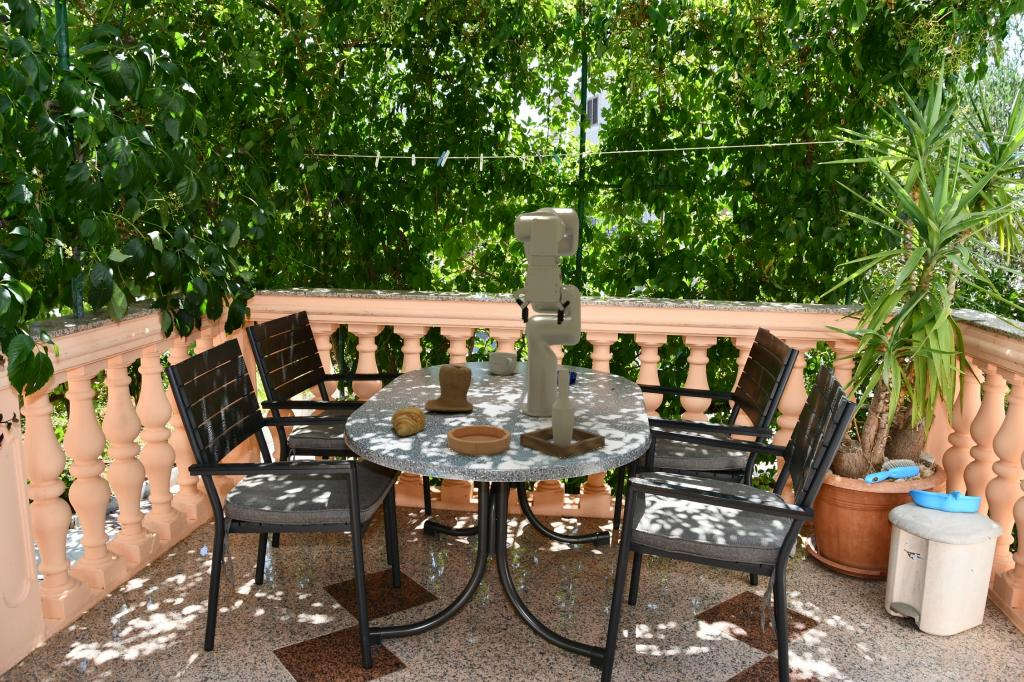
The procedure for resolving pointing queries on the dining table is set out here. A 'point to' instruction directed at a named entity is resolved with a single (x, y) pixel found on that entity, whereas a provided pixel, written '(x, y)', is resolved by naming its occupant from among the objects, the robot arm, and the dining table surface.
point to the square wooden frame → (539, 443)
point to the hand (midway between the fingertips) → (542, 323)
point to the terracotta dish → (479, 440)
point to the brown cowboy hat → (452, 390)
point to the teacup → (502, 362)
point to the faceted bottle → (563, 411)
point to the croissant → (408, 421)
